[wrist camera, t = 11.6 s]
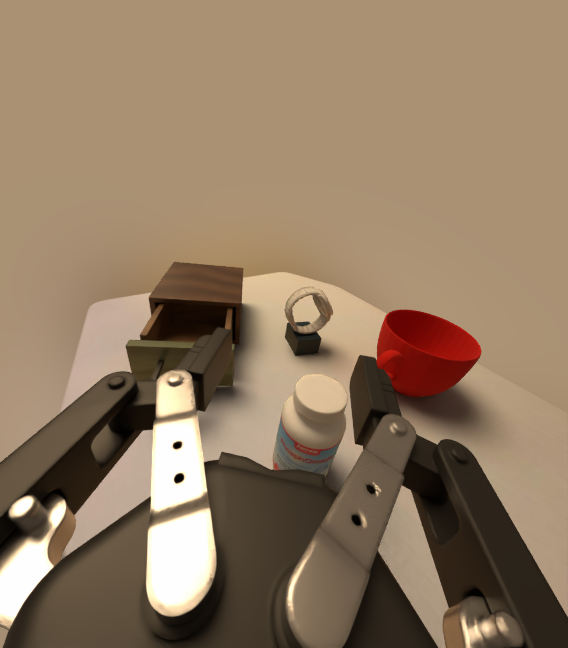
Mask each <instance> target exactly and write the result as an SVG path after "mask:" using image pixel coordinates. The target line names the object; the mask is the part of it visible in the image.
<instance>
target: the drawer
mask: <svg viewBox="0 0 568 648" xmlns="http://www.w3.org/2000/svg"><path fill="white" fill-rule="evenodd" d="M233 309H234V307H224V306H208V305H193V304H177V303H161V302H160V303H159V305H158V307H157V308H156V310H155V311H154V313H153V315H152V316H151V318H150V320H149V321H148V323H147V324H146V326H145V328H144V329H143V331H142V333H141V334H140V338H141V340H129V341H128V343H127V344H126V349H127V354H128V358H129V362H130V367H131V371H132V374H134V375H135V377H136V381H144V380H157V379H159V377H160V376H161V375H163V374H164V373H166V372H168V371H171V370H175V368H176V367H177V366H178V364H179V363H180V362H181V360H182V359H183V358H184V357H185V355H186V354H187V353H188V352H189V350H190V349H191V348H192V347H193V345H194V344H195V342H196V341H197V340H198V339H199V338H201V337H202V336H204V335H206V334H207V335H212V334H213V333H214V331H215V330H216V328H217V327H220V328H225V329H230V330H233ZM233 367H234V344H232V355H231V360H230V363H229V365H228V367H227V369H226V371H225V373H224V375H223V377H222V379H221V381H220V383H219V385H218V386H232V385H233Z"/></svg>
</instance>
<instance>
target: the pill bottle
mask: <svg viewBox="0 0 568 648" xmlns="http://www.w3.org/2000/svg"><path fill="white" fill-rule="evenodd" d="M347 400H348V398H347V393H346V391H345V389H344V388H343V387H342V385H341V384H340V383H339V382H337V381H336V380H334V379H333V378H330V377H328V376H325V375H321V374H310V375H306V376H304V377H302V378H301V379H300V380H299V381H298V382H297V384H296V386H295V391H294V393H293V395H291V396H290V397H289V398H288V399H287V401H286V402H285V404H284V407H283V410H282V414H281V419H280V424H279V429H278V433H277V438H276V443H275V448H274V454H273V467H274V470H292V469H300V470H305V471H309V472H314V473H318V474H323V475H325V477H326V475H327V473H328V470H329V468H330V466H331V463H332V461H333V459H334V456H335V454H336V451H337V449H338V447H339V444H340V442H341V440H342V437H343V435H344V432H345V429H346V418H345V414H344V411H345V408H346V405H347Z"/></svg>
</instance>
